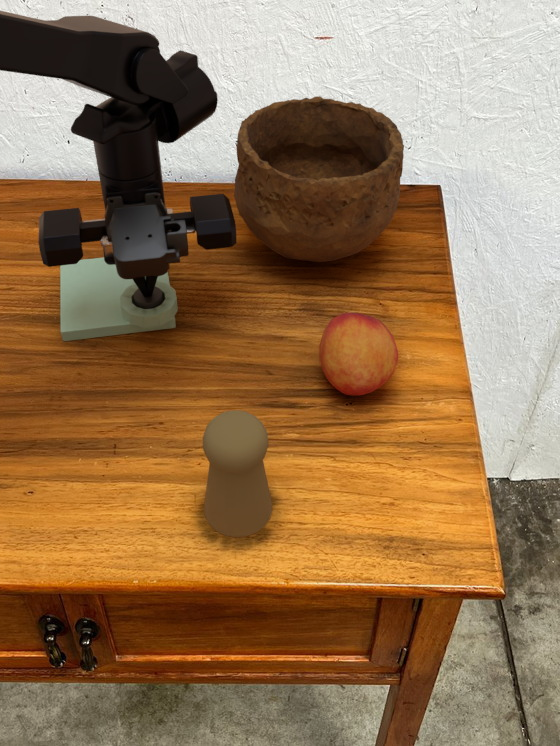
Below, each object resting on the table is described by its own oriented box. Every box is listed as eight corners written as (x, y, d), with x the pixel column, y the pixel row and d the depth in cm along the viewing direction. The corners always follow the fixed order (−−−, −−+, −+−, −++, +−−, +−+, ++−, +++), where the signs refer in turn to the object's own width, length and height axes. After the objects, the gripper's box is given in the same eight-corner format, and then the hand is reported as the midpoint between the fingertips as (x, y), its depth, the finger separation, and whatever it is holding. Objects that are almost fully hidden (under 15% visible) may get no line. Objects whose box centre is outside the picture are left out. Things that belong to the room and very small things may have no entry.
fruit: (402, 365, 81) (413, 307, 75) (379, 419, 75) (389, 362, 70) (330, 344, 82) (336, 286, 77) (303, 396, 77) (307, 338, 71)
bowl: (391, 205, 100) (406, 96, 90) (390, 300, 88) (408, 186, 77) (247, 195, 102) (245, 86, 91) (225, 287, 89) (220, 172, 78)
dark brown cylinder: (136, 317, 82) (134, 305, 81) (134, 299, 84) (132, 286, 83) (164, 314, 83) (163, 301, 82) (162, 296, 85) (160, 283, 84)
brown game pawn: (235, 468, 71) (231, 387, 63) (286, 503, 68) (289, 423, 60) (189, 511, 68) (179, 431, 60) (241, 550, 65) (238, 472, 57)
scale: (62, 347, 82) (57, 327, 79) (62, 271, 90) (57, 250, 88) (181, 333, 83) (178, 312, 81) (169, 259, 92) (167, 239, 90)
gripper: (21, 226, 64) (58, 358, 76) (244, 203, 67) (247, 335, 78) (25, 155, 72) (57, 286, 83) (225, 138, 74) (230, 266, 86)
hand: (147, 294), depth 82 cm, fingers closed, pressing on dark brown cylinder
